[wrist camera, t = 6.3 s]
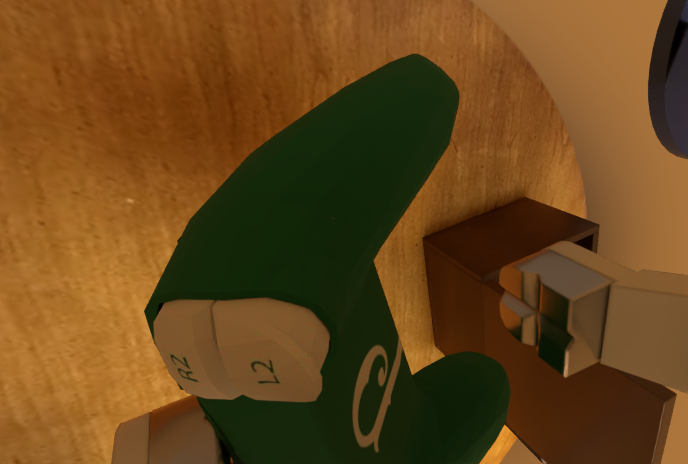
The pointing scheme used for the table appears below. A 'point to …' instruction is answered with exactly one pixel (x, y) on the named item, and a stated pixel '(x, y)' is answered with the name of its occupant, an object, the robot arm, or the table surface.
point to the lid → (577, 402)
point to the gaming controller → (323, 292)
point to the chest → (488, 263)
